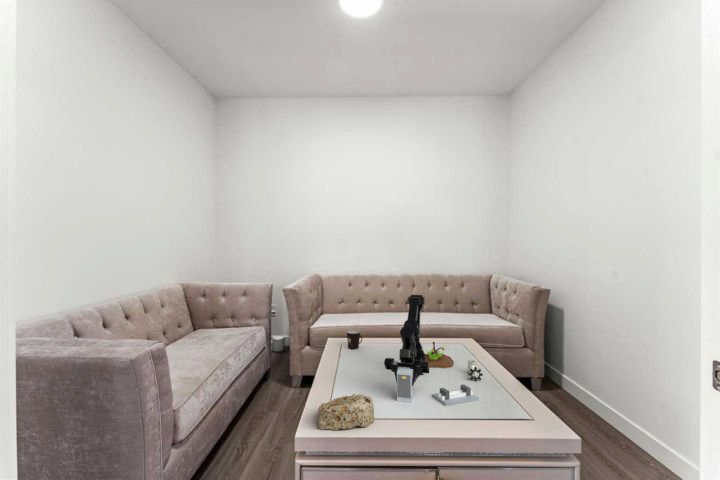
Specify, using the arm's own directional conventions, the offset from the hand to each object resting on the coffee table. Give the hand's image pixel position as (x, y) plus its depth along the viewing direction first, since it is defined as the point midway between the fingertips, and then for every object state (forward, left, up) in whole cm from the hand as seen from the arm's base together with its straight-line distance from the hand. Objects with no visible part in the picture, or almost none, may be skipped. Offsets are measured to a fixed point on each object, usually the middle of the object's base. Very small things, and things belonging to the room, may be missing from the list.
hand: (404, 384), depth 150 cm
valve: (-22, +41, -7) cm, 47 cm away
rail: (+1, +22, -7) cm, 23 cm away
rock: (+14, -26, -7) cm, 30 cm away
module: (-1, +1, -7) cm, 7 cm away
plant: (-47, +31, -7) cm, 57 cm away
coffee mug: (-81, -9, -7) cm, 82 cm away
